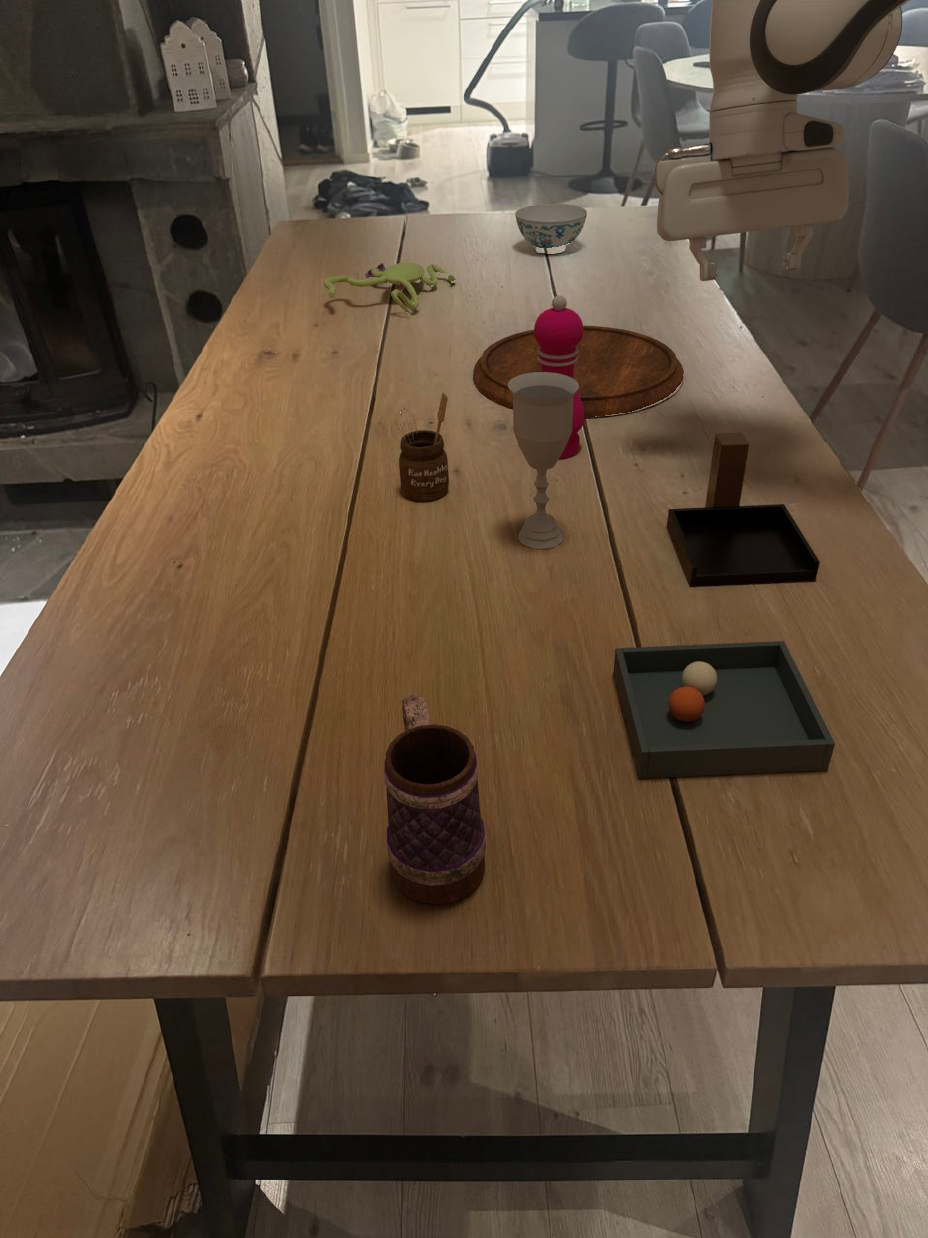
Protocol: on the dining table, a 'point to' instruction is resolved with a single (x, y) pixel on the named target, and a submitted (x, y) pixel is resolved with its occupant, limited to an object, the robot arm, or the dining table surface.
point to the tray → (721, 712)
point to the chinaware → (550, 224)
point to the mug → (433, 809)
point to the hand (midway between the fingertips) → (749, 275)
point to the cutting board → (589, 369)
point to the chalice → (542, 441)
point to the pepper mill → (561, 355)
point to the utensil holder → (424, 461)
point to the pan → (738, 530)
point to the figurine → (393, 280)
